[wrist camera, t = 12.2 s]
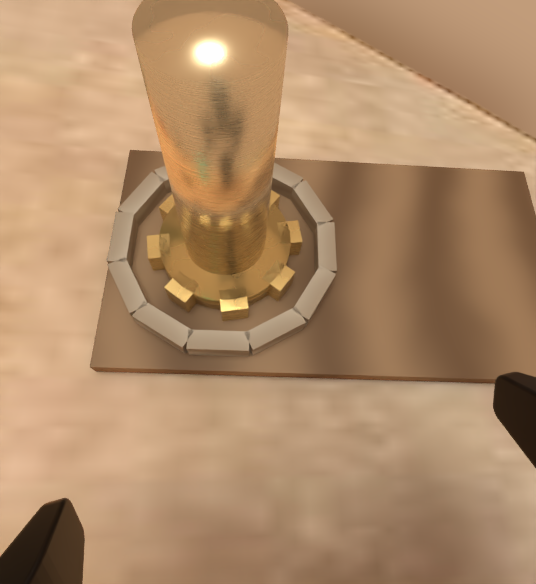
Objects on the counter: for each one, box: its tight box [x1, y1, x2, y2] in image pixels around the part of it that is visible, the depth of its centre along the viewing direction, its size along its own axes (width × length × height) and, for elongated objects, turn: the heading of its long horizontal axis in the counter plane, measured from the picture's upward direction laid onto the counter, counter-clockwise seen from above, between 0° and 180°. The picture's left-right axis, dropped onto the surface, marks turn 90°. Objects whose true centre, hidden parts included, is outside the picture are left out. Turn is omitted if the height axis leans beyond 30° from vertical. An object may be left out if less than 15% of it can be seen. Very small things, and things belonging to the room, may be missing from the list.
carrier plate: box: [90, 150, 536, 383], centre depth 25 cm, size 26×14×2 cm, turn 89°
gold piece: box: [132, 0, 303, 321], centre depth 18 cm, size 8×8×14 cm
